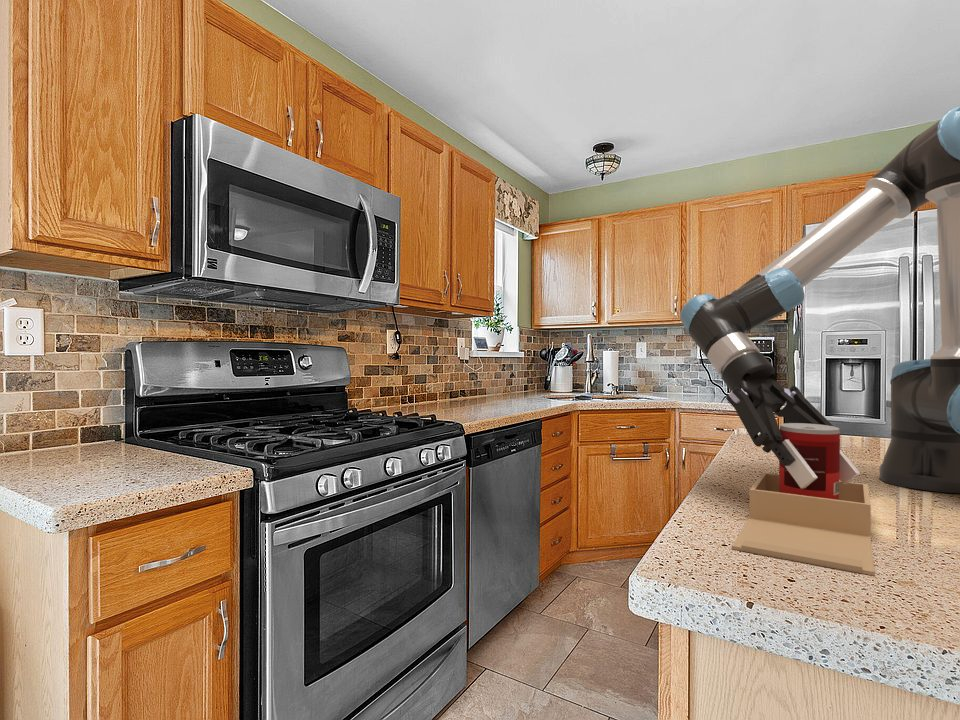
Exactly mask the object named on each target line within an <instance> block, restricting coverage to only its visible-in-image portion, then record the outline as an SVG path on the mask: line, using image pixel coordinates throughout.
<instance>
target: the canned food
mask: <svg viewBox="0 0 960 720" xmlns="http://www.w3.org/2000/svg"><path fill="white" fill-rule="evenodd" d="M779 430H780V432H781V435H782V438H783V439H782V440H781V441H782V442H783V441H784V440H788V439H789V441H790V442H791V443H792V444H793V446H794V447H795V448H796V450H797V451H798V452H799V454H800V455H801V456H802V457H803V459H804V460H805V461H806V463H807V464H808V465H809V467H810V468H811V469H812V471H813V472H814V473H815V475H816V476H817V477H818V478H817V479H816V480H814V481H813V482H812V483H811V484H810V485H808V486H807V487H806V488H802V489H801V488H800V486H799V485H798V484H797V482H796V481H795V479H794V478H793V477H792V475H791V474H790V473H789V471H788V470H787V468H786V467H785V466H784V465H783V464H782V463H781V462H780V461H778V462H779V464H778V474H779V492H780V493H787V494H795V495H803V496H811V497H819V498H827V499H835V500H838V499H839V481H840V479H839V471H840V449H841V432H840V428H839V427H838V426H837V427H836V426H834V425H833V426H828V425H820V424H806V423H790V422H788V423H787V422H786V423H785V422H784V423H781V424H779Z"/></svg>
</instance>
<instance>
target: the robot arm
mask: <svg viewBox="0 0 960 720" xmlns="http://www.w3.org/2000/svg"><path fill="white" fill-rule="evenodd" d="M929 202H931V203H933V204H934V205H936V217H937V218H936V220H937V221H936V223H937V249H938V250H937V251H938V254H937V255H938V271H939V272H938V274H939V275H938V276H939V277H938V278H939V279H938V280H939V282H938V283H939V302H940V303H939V306H940V333H941V334H940V335H941V345H940V348H939V349H938V350H937V351H935V352H934V353H933V354H932V355H931V356H930V358H929V359H928V358H927V359H926V358H925V359H915V360H914V359H913V360H907V361H906V360H905V361H901V362H898V363H896V364H895V365H894V366H893V367H892V370H891V377H890V382H889V384H890V425H891V426H890V441H889V445H888V447H887V449H886V451H885V455H884V457H883V460H882V463H881V464H880V466H879V480H881V481H882V482H886V483H888V484H891V485H894V486H895V485H896V486H899V487H903V488H909V489H917V490H920V491H921V490H922V491H930V492H936V493H937V492H939V493H947V494H948V493H951V494H960V105H959V106H956V107H955V108H952V109H950V110H949V111H948V112H946V113H945V114H944V115H943V116H942V117H941V118H940V119H939V120H937V121H936V122H935V123H934V124H932V125H931V126H930V127H928V128H927V129H926V130H924V131H922V132H921V133H919V134H918V135H917V136H916V137H914V138H913V139H911V140H910V141H909V142H908V143H907V144H906V145H905V146H904V147H903V148H902V149H901V150H900V151H899V152H898V153H897V154H896V155H895V156H894V157H893V158H892V159H891V160H890V161H889V162H888V163H887V164H886V165H885V166H884V167H883V168H882V169H880V171H878V172H877V173H876V174H875V175H873V176H872V177H871V178H870V179H868V180H867V181H866V183H865V185H864V190H863V191H861V192H860V193H859V194H858V195H856V196H855V197H854V198H852V200H850V201H848V203H846V204H845V205H843V207H841V208H840V209H838V210H837V211H836V212H835V213H833V214H832V215H831V216H830V217H828V218H827V219H825V221H823V222H822V223H821V224H819V225H818V226H817V227H815V228H814V229H812V231H810V232H809V233H808V234H805V236H804V237H803V238H801V239H800V240H799V241H798V242H795V244H794V245H792V246H791V247H790V248H788V249H787V250H786V251H785V252H783V253H781V254H780V256H778V257H777V258H775V260H773V261H772V262H771V263H769V264H768V265H767V266H766V267H764V268H763V269H761V270H760V271H759V272H757V274H755V275H754V276H753V277H751V278H750V279H749V280H747V281H746V282H745V283H744V284H742V285H741V286H739V288H737V289H735V290H733V291H732V292H731V293H729V294H726V295H724V296H723V297H720V298H717V296H715V295H714V294H712V293H703V294H698V295H695V296H693V297H692V298H690V299H689V300H688V301H687V302H685V304H684V305H683V307H682V308H681V310H680V315H679V318H680V319H679V320H680V322H681V324H682V325H683V327H684V328H685V329H686V331H687V333H688V335H689V337H690V338H691V339H692V341H693V342H694V343H695V344H696V345H697V347H698V348H699V350H700V351H701V352H702V353H703V355H704V356H705V357H706V359H707V360H708V361H709V362H710V364H711V365H712V367H713V368H714V370H715V371H716V372H717V373H718V376H720V377H721V379H722V381H723V382H724V384H725V385H726V386H727V388H728V389H729V390H730V392H729V393H728V394H727V395H726V397H725V399H726V401H728V403H729V404H730V405H731V406H732V407H733V408H734V410H735V412H736V413H737V416H738V418H739V419H740V421H741V423H742V424H743V426H744V428H745V429H746V432H747V433H748V436H749V437H750V440H751V441H752V443H753V444H754V446H756V447H758V448H760V447H762V446H763V447H762V448H761V449H762V451H763V452H764V453H770V452H771V451H772V453H773V454H774V456H775V457H776V458H777V459H778V460H779V461H780V462H781V463H782V464H783V465H784V466H785V467H786V468H787V470H788V471H789V473H790V474H791V475H792V477H793V478H794V479H795V481H796V482H797V484H798V485H799V486H800V488H801V489H802V488H806V487H807V486H808V485H810V484H811V483H812V482H813V481H814V480H816V479H817V478H818V477H817V476H816V475H815V473H814V472H813V471H812V469H811V468H810V467H809V465H808V464H807V463H806V461H805V460H804V459H803V457H802V456H801V455H800V454H799V452H798V451H797V450H796V448H795V447H794V446H793V444H792V443H791V442H790V441H789V439H788V440H784V441H783V442H782V441H781V440H782V439H783V438H782V435H781V432H780V426H779V425H778V421H777V419H776V415H777V416H778V417H779V418H784V419H786V421H788V423H806V424H820V425H828V426H834V425H833V424H832V423H831V422H830V421H829V420H828V419H827V418H826V417H825V416H824V415H823V414H822V413H821V412H820V411H819V410H818V409H817V408H816V407H815V406H814V405H812V403H811V402H810V401H809V400H808V399H807V398H805V396H804V394H803V393H802V392H801V390H800V389H799V388H798V387H797V386H796V385H792V386H791V387H790V388H785V387H783V385H781V384H780V383H779V382H778V381H777V380H776V379H775V371H776V370H775V367H774V366H773V365H772V364H771V363H770V361H769V360H768V359H767V357H765V355H764V354H763V353H761V350H760V348H759V347H758V346H757V345H756V344H755V343H754V342H753V341H752V339H750V337H749V336H748V335H747V334H746V333H748V332H750V331H752V330H753V329H755V328H757V327H759V326H761V325H763V324H765V323H767V322H769V321H771V320H774V319H776V318H777V317H779V316H781V315H783V314H784V313H789V312H790V311H791V310H793V309H794V308H796V307H797V306H799V305H801V304H802V303H803V302H804V300H805V291H804V287H806V286H807V285H808V284H809V283H811V282H812V281H814V279H816V278H818V277H819V276H820V275H822V274H823V273H824V272H825V271H827V270H828V269H829V268H831V267H832V266H833V265H835V264H836V263H838V262H839V261H840V260H842V259H843V258H844V257H845V256H846V255H848V254H849V253H851V252H852V251H853V250H854V249H856V248H857V247H859V246H860V245H861V244H863V243H864V242H865V241H867V240H868V239H869V238H871V237H872V236H873V235H875V234H876V233H877V232H878V231H880V230H881V229H883V228H884V227H885V226H887V225H888V224H889V223H891V222H892V221H893V220H894V219H904V218H906V217H908V216H910V214H911V213H913V212H914V211H916V210H918V209H919V208H921V207H922V206H924V205H925V204H927V203H929ZM785 404H786V405H785ZM759 433H760V434H759ZM779 461H778V462H779ZM860 474H861V472H860V471H859V469H857V467H856V466H855V465H854V464H853V463H852V462H851V460H850V459H849V458H848V457H847V455H845V452H844V451H843V450H842V449H841V448H840V471H839V481H841V482H842V483H843V484H847V483H848V482H851V481H852V480H853V479H855V478H857V477H858V476H859V475H860Z"/></svg>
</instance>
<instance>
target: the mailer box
mask: <svg viewBox="0 0 960 720" xmlns="http://www.w3.org/2000/svg"><path fill="white" fill-rule="evenodd" d="M871 505H872V504H871V498H870V491H869V484H868V483H860V482H859V483H858V482H851V481H850V482H848V483H847V484H843V483H842V482H841V480H839V499H838V500H835V499H827V498H819V497H811V496H803V495H795V494H787V493H780V492H779V473H770V472H762V473H761V474H760V476H759V477H758V479H756V480H755V482H754V483H753V484H752V486H751V487H750V489H749V514H748V515H749V518H748V519H747V521H746V522H745V524H744V526H743V528H742V529H741V531H740V532H739V533H738V535H737V537H736V538H735V540H734V541H733V543H732V545H731V550H734V551H740V552H744V553H745V552H746V553H750V554H756V555H761V556H766V557H771V558H772V557H773V558H778V559H783V560H788V561H792V562H793V561H794V562H798V563H799V562H800V563H802V564H803V563H805V564H810V565H814V566H821V567H824V568H825V567H827V568H831V569H837V570H841V571H847V572H852V573H857V574H858V573H859V574H861V575H862V574H863V575H867V576H868V575H869V576H874V577H875V571H876V570H875V564H874V556H873V548H872V547H873V546H872V538H871V534H872V533H871V532H872V530H871V525H872V524H871V523H872V522H871V521H872V519H871V515H872V514H871V512H872V510H871V509H872V507H871Z"/></svg>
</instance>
